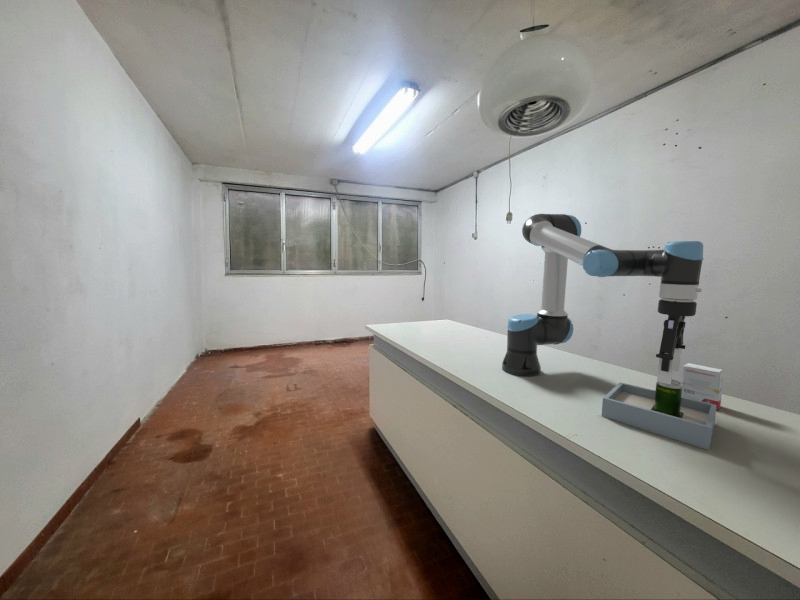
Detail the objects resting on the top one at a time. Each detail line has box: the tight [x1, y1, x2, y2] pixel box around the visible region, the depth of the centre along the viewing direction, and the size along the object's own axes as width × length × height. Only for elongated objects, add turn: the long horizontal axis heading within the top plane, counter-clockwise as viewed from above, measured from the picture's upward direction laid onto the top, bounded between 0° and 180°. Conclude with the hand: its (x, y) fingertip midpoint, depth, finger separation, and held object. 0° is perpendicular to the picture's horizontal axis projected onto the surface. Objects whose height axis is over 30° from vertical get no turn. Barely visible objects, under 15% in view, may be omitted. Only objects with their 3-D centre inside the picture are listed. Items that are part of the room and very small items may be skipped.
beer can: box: [654, 378, 682, 418], centre depth 83 cm, size 5×5×12 cm
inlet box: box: [601, 381, 717, 451], centre depth 85 cm, size 22×18×6 cm
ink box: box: [681, 362, 724, 410], centre depth 95 cm, size 9×5×12 cm, turn 33°
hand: (668, 376), depth 83 cm, fingers open, 13 cm apart
